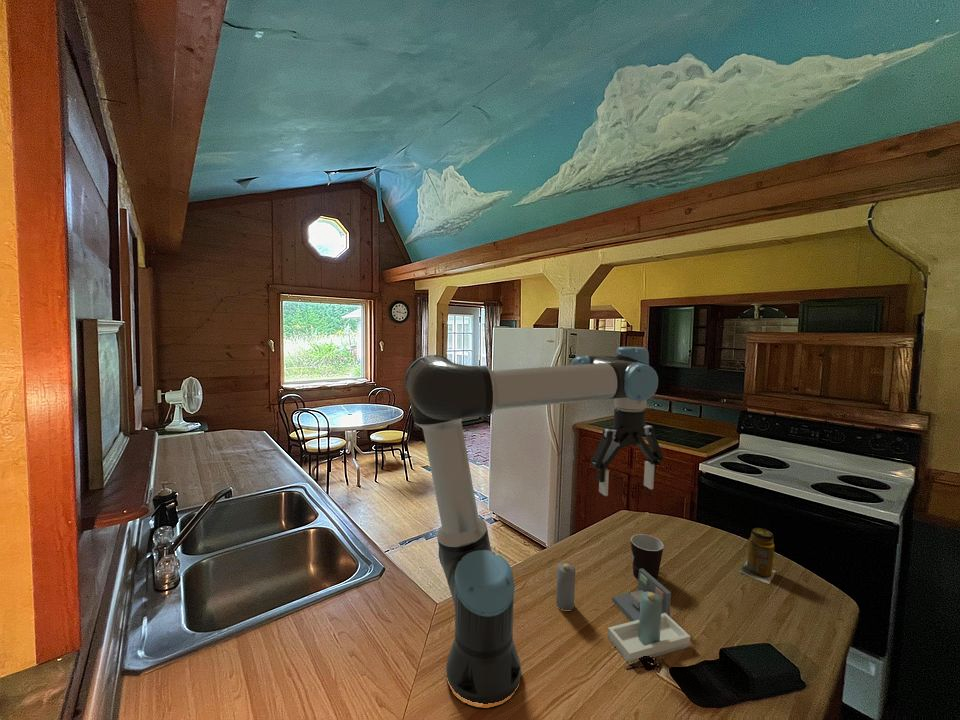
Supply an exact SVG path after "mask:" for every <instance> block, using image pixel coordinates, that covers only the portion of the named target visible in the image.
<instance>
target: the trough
mask: <svg viewBox="0 0 960 720" xmlns="http://www.w3.org/2000/svg"><path fill="white" fill-rule="evenodd" d="M638 636H639V620H636V621H632V622H631V621H628V622H624V623H621V624H617V625H613V626H609V627H607V639H608V638H609V639H608V640H609V642H610V641H611V642H612V643H613V644H612V643H611V642H610V643H611V644H612V645H613V647H614V648H615V647H616V648H615V650H617V652H618V653H619V654H620V655H621V656H622V658H623V659H624V661H626V663H627V662H628V663H632V662H635V661H637V660H638V659H639V658H641V657H643V656H654V657H653V658H655V657H660V656H662V655H666V654H669V653H673V652H676V651H680V650H683V649H686V648H690V647H691V635H690V634H689V633H688V632H686V630H685V629H684V628H682V627H681V625H679V624H678V623H677V622H676V621H675V620H674V619H673V618H672V617H669V616H668V615H667V614H666V613H663V614H661V628H660V642H656V643H653V644H649V645H646V646H645V645H644V644H642V643H641V642H640V640H639V638H638ZM628 663H627V664H628Z"/></svg>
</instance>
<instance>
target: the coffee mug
mask: <svg viewBox="0 0 960 720" xmlns="http://www.w3.org/2000/svg"><path fill="white" fill-rule="evenodd" d="M664 548H665V545H664V543H663V542H662V540H661V539H659V538H658V537H655V536H653V535H650V534H646V533H645V534H643V533H639V534H634V535H632V536H631V538H630V549H631V560H632V561H631V562H632V572H633V573H632V574H633V576H634V578H635V579H636V580H638V577H639V569H642V568H643V569H644V570H645V571H646V572H648V573H649V574H650V575H651V576H652V577H653V578H655V579H656V580H657V581H658V578H659V577H658V576H659V572H660V567H661V563H662V558H663V551H664Z"/></svg>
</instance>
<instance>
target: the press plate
mask: <svg viewBox="0 0 960 720" xmlns="http://www.w3.org/2000/svg"><path fill="white" fill-rule="evenodd" d="M635 591H636V592H634V591H631V592H632V593H630V601H631V602H632V603H633V604H634V605H635V606H636V607H637V608H638V609H640V598H641V593H643V592H644V591H643V590H640V591H638V590H635Z"/></svg>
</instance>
